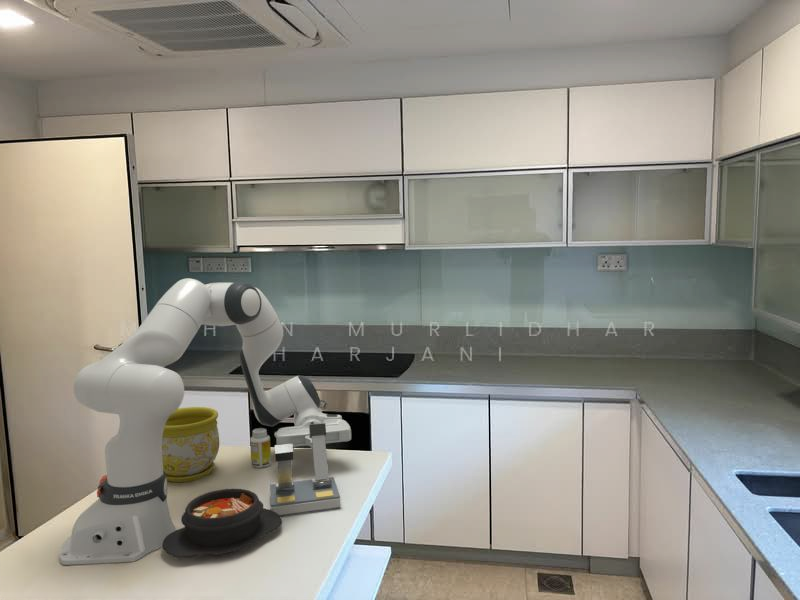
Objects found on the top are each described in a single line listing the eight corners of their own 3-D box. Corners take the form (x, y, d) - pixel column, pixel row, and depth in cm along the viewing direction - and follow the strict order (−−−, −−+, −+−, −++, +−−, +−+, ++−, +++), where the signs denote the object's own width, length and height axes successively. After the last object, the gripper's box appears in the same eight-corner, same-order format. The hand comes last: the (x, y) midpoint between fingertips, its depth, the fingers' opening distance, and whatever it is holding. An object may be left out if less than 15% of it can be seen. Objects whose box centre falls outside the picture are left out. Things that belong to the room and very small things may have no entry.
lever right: (313, 487, 145) (308, 424, 151) (313, 488, 147) (308, 427, 153) (331, 485, 146) (326, 423, 152) (331, 486, 148) (325, 425, 154)
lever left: (276, 495, 144) (274, 453, 135) (275, 487, 145) (273, 445, 137) (294, 493, 145) (294, 451, 136) (293, 485, 146) (293, 443, 138)
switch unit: (271, 518, 138) (271, 504, 138) (270, 495, 150) (269, 483, 150) (340, 508, 142) (340, 495, 142) (334, 487, 154) (333, 475, 153)
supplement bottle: (272, 460, 174) (270, 426, 173) (270, 467, 168) (268, 432, 167) (253, 461, 173) (251, 427, 172) (250, 469, 168) (248, 433, 167)
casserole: (264, 508, 144) (263, 474, 143) (295, 540, 128) (293, 502, 127) (154, 539, 130) (152, 502, 129) (174, 579, 115) (171, 537, 114)
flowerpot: (216, 483, 159) (212, 423, 157) (145, 489, 156) (140, 428, 154) (225, 458, 176) (222, 404, 175) (162, 463, 174) (158, 408, 172)
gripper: (273, 421, 167) (275, 437, 153) (346, 414, 172) (354, 428, 158) (274, 443, 167) (276, 460, 154) (347, 435, 172) (354, 452, 159)
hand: (316, 444), depth 156 cm, fingers closed
